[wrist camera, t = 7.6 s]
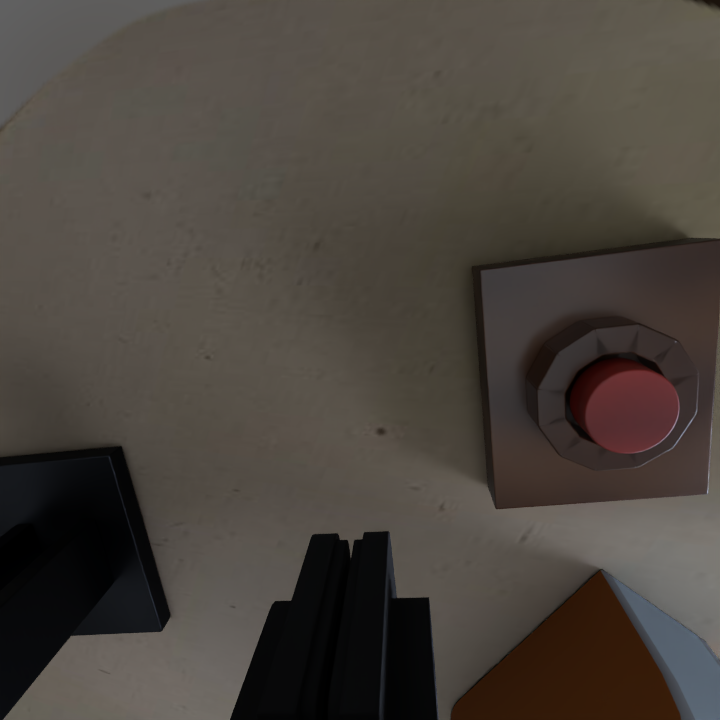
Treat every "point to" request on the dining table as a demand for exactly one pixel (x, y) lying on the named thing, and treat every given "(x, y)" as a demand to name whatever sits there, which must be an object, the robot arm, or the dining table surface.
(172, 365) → the dining table surface
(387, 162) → the dining table surface
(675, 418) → the stop button
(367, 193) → the dining table surface
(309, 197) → the dining table surface
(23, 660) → the switch bracket
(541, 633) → the alarm clock
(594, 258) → the block
